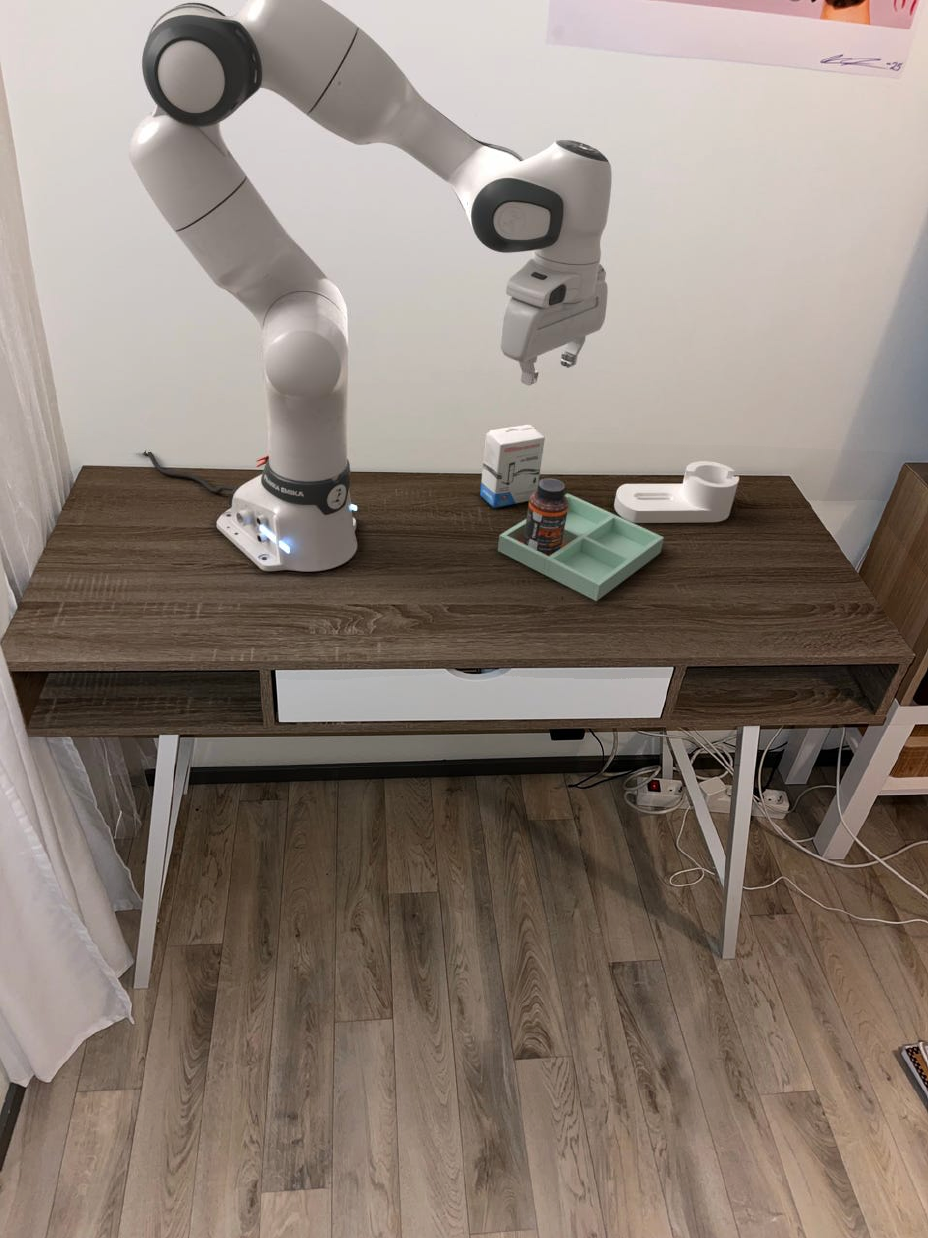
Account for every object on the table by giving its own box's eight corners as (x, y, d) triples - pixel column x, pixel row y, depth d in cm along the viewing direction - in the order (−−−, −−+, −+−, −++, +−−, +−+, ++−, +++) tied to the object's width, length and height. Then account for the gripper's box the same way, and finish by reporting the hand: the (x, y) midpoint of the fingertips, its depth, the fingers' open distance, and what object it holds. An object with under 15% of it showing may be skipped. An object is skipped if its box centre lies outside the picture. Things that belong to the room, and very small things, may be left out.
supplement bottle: (535, 562, 153) (544, 497, 146) (515, 542, 157) (523, 478, 150) (568, 554, 155) (578, 490, 149) (548, 534, 160) (557, 471, 153)
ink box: (493, 509, 166) (500, 444, 159) (478, 494, 169) (485, 430, 162) (537, 499, 169) (546, 436, 162) (522, 485, 173) (530, 423, 165)
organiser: (497, 550, 156) (499, 534, 154) (565, 508, 168) (567, 493, 166) (596, 601, 147) (599, 585, 145) (660, 552, 159) (664, 537, 157)
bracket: (719, 495, 175) (728, 461, 171) (736, 521, 168) (746, 487, 164) (608, 495, 172) (614, 460, 168) (621, 523, 165) (628, 487, 161)
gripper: (587, 254, 142) (572, 348, 150) (498, 284, 128) (486, 385, 137) (625, 267, 139) (607, 362, 147) (537, 298, 125) (523, 401, 134)
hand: (548, 373), depth 142 cm, fingers open, 8 cm apart
